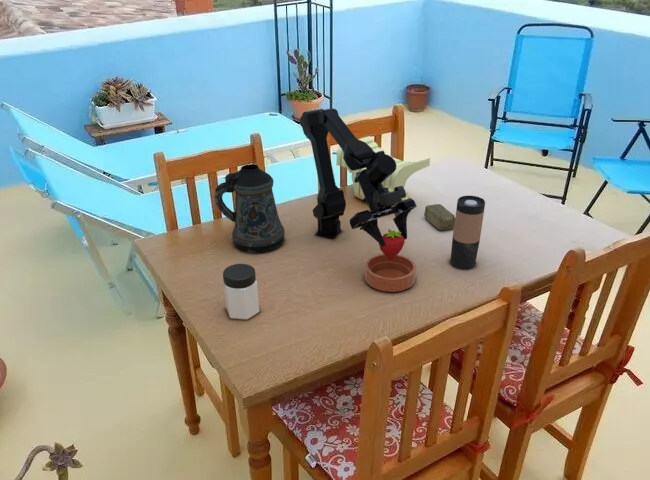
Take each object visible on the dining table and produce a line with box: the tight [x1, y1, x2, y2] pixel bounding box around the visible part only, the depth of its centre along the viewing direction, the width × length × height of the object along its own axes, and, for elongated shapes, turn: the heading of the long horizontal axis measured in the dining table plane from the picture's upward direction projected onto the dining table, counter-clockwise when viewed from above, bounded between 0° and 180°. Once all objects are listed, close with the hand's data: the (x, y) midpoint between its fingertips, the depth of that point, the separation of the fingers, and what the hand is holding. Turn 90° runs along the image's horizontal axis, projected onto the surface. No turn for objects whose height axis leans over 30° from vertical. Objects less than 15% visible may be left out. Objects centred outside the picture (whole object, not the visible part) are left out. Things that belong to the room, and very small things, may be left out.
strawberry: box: [378, 225, 406, 260], centre depth 159 cm, size 6×8×10 cm
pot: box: [364, 253, 417, 293], centre depth 164 cm, size 14×14×5 cm
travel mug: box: [450, 195, 486, 270], centre depth 167 cm, size 8×8×20 cm
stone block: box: [423, 203, 455, 231], centre depth 193 cm, size 6×12×5 cm, turn 19°
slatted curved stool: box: [336, 135, 431, 201], centre depth 207 cm, size 30×16×18 cm, turn 38°
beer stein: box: [214, 163, 286, 254], centre depth 178 cm, size 16×19×25 cm
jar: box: [222, 263, 260, 321], centre depth 150 cm, size 9×8×12 cm
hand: (394, 242), depth 157 cm, fingers closed on strawberry, 7 cm apart
